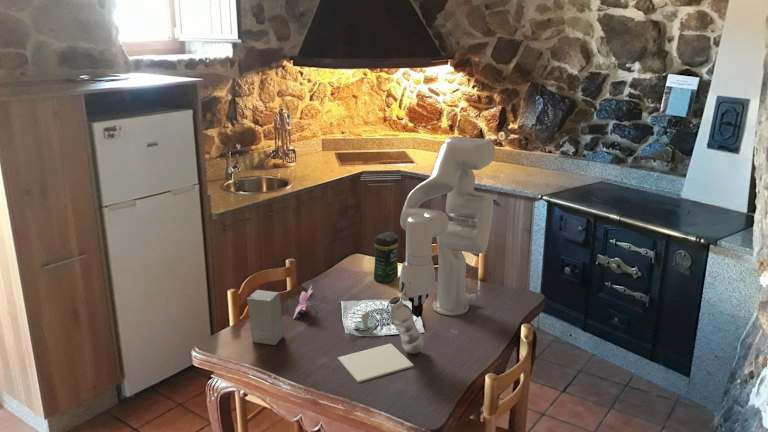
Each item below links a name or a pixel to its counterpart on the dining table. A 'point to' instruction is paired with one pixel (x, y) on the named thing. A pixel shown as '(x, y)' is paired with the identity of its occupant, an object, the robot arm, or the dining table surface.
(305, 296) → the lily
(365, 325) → the pacifier
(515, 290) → the dining table surface
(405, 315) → the plastic bottle
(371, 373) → the mat
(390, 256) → the coffee jar
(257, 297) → the skincare box
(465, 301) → the robot arm
